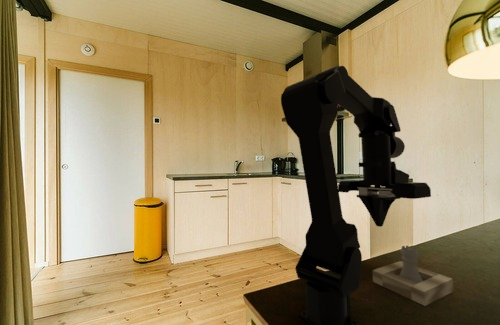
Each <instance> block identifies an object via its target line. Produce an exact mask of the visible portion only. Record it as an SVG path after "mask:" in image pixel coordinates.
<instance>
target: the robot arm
mask: <svg viewBox="0 0 500 325" xmlns="http://www.w3.org/2000/svg"><path fill="white" fill-rule="evenodd" d="M280 102H281V103H280V104H281V107H282V111H283V116H284V118H285V119H284V120H285V123H286V125H287V126H288V127H289V128H290V129H291V131H292V132H293V133H294V134H295V136H296V137H297V138H298V141H299V142H298V143H299V149H300V154H301V155H300V156H301V161H302V162H301V163H302V168H303V173H304V178H305V179H304V180H305V185H306V191H307V197H308V204H309V210H310V216H311V223H310V224H309V227H308V228H307V232H306V233H305V247H304V248H303V250H302V253H301V255H300V257H299V258H298V259H299V260H298V261H297V263H296V265H295V267H294V268H295V272H296V276H297V278H298V280H299V279H300V280H304V281H306V282H305V293H306V310H303V311H301V312H300V316H301V318H302V319H304V320H305V321H306V322H307V323H308V324H310V325H359V323H358V321H357V320H355V319H354V318H352V317H351V294H352V293H353V292H355V291H356V290H357V289H359V287H360V278H361V269H362V268H361V266H362V262H363V260H362V259H363V258H362V252H361V250H360V248H361V244H360V242H359V237H358V235H359V234H358V228H357V227H356V224H354V223H348V222H347V221H346V220H345V219H344V218H343V212H342V205H341V198H340V193H349V192H351V191H352V192H353V191H355V192H356V191H357V192H358V194H356V198H359V200H360V201H361V202H362V204H363V205H364V207H365V208H366V210H367V212H368V213H369V216H370V217H371V219H372V221H373V222H374V224H375V226H376V227H378V228H379V227H383V226H384V223H385V222H386V218H387V215H388V212H389V210H390V208H391V205H392V204H393V203H394V202H395V201H396V200H400V199H409V200H410V199H411V200H416V199H423V198H424V199H425V198H431V197H432V193H431V192H432V190H431V187H430V186H429V185H428V183H427V182H418V181H417V182H416V181H415V182H413V181H409V179H410V174H409V173H407V172H405V171H403V170H400V169H398V168H397V165H396V162H395V161H392V159H395V158H398V157H400V156H401V155H402V154H403V153H404V152H405V147H406V146H405V143H404V141H403V140H402V139H401V137H398V136H396V133H399V132H401V129H402V128H401V125H400V122H399V119H398V117H397V113H396V110H395V106H394V105H393V104H392V103H391V102H389V100H386V99H385V98H383V97H374V96H372V95H370V94H369V93H368V92H367V90H365V89H364V88H363V87H362V85H360V84H358V82H357V81H355V80H354V79H353V78H352V77H351V76H350V75H349V71H348V70H347V68H346V67H345V66H344V65H336V66H334V67H330V68H329V69H327V70H323V71H321V72H319V73H318V74H314V75H311V76H310V77H308V78H305V79H303V80H300V81H298V82H296V83H293V84H290V85H288V86H287V87H285V88H284V90H283V92H282V93H281V96H280ZM338 105H339V106H340V107H341V108H343V109H344V110H345V111H347V112H348V113H350V114H351V115H352V117H353V124H354V125H356V127H357V129H358V130H359V133H358V137H359V138H360V139H361V158H362V159H361V160H362V162H358V168H362V177H363V178H362V179H360V180H354V179H353V180H340V181H339V182H338V178H337V172H336V166H335V158H334V153H333V152H334V151H333V145H332V139H331V130H332V129H333V128H332V127H333V125H334V123H335V121H336V118H337V116H338V111H339V109H338ZM321 268H322V269H321ZM323 269H324V270H323ZM326 270H327V271H326ZM331 272H332V273H331ZM334 273H335V274H334ZM340 275H341V276H340Z"/></svg>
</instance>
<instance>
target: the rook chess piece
mask: <svg viewBox="0 0 500 325" xmlns="http://www.w3.org/2000/svg"><path fill="white" fill-rule="evenodd" d="M417 249H418V248H416V247H414V246H410V247H409V245H402V246H401V249H400V251H399V252H400V253H401V255H402V257H401V261H402V262H403V267H402V271H401V274H400V275H399V276H400V277H403V278H405V279H408V280H410V281H413V282H415V283H420V282H422V281H423V280H422V279H421V278H420V277H421V276H420V275H419V272H418V268H417V267H418V262H419V260H418V259H417V258H418V256H419V255H420V253H419V252H418V250H417Z"/></svg>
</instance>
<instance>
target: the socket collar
mask: <svg viewBox="0 0 500 325" xmlns="http://www.w3.org/2000/svg"><path fill="white" fill-rule="evenodd" d="M402 267H403V260H399V261H396V262H394V263H390V264H388V265H383V266H381V267H378V268H375V269H373V270H372V282H373V283H375V284H377V285H379V286H381V287H384V288H386V289H388V290H390V291H392V292H394V293H396V294H398V295H400V296H403V297H404V298H406V299H408V300H411V301H413V302H415V303H418V304H420V305H422V306H424V307H426V306H428V305H430V304H432V303H435V302H436V301H438V300H440V299H442V298H444V297H445V296H447V295H449V294H452V293H454V280H453V277H452V278H451V277H449V276H447V275H443V274H440V273H436V272H434V271H431V270H429V269H425V268H422V267H419V266H417V268H418V272H419V275H420V276H421V277H420V278H421V279H422V280H423V281H422V282H420V283H415V282H413V281H410V280H408V279H405V278H403V277H400V276H399V275H400V274H401V271H402Z"/></svg>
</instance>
